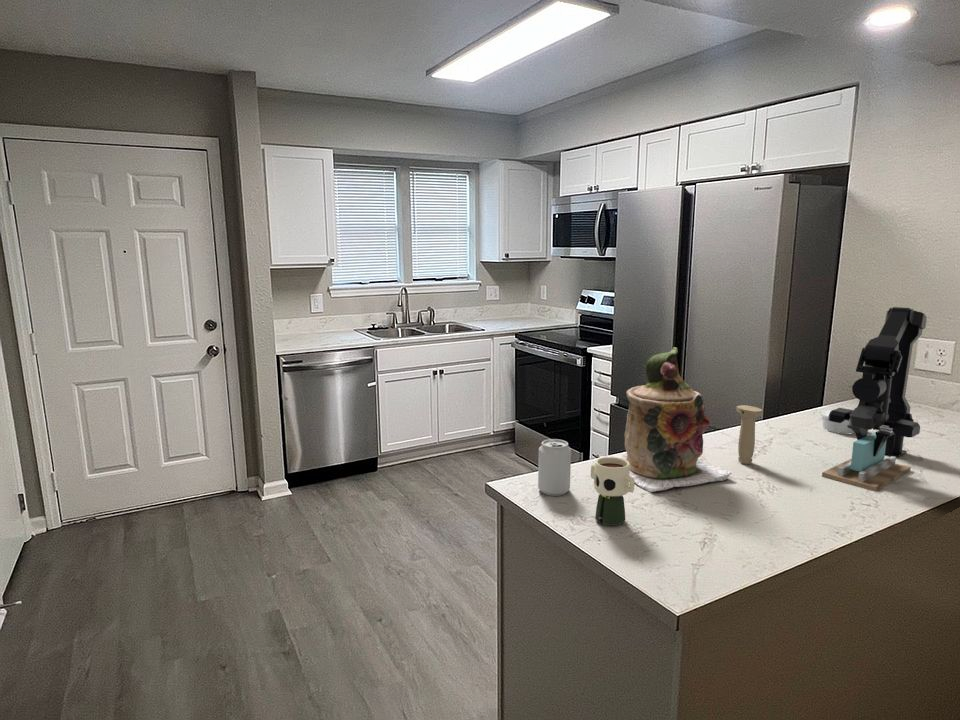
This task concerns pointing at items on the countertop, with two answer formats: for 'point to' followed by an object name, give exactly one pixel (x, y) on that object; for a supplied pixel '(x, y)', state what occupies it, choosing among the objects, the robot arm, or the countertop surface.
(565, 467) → the can
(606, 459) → the character mug
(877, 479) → the track
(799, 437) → the countertop surface
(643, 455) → the cookie jar
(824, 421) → the ramekin
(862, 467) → the door panel
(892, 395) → the robot arm
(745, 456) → the handle
